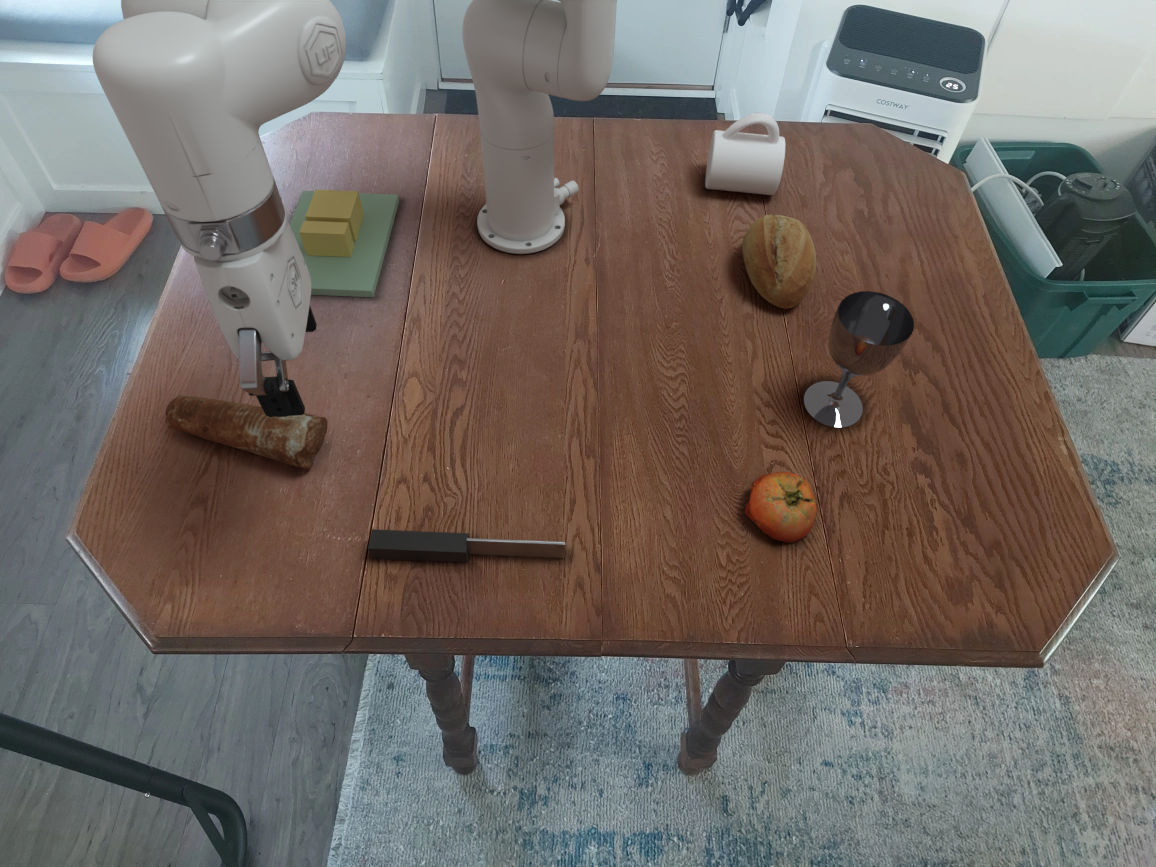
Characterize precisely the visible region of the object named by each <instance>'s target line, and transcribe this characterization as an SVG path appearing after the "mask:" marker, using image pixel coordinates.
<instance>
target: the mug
mask: <svg viewBox="0 0 1156 867" xmlns="http://www.w3.org/2000/svg"><path fill="white" fill-rule="evenodd" d="M752 125H762V126H764V127H765V128H766V131H767V134H761V133H760V134H759V133H751V132H749V133H748V132H740V131H742V130H743V129H745V128H747V127H749V126H752ZM786 146H787V145H786V139H785V137H784V136H781V135H780V128H779V124H778V122H777V121H776V120H775V118H774V117H773V116H771V115H770V114H768V113H765V112H754V113H749V114H747V115H745V116H743V117H741V118H739V119H738V120H737V121H735V122H733V123H732V124H731V125H730V126H729V127H727V128H726V129H725V130H719V129H715V130H713V132H712V135H711V139H710V143H709V149H708V154H707V163H706V171H705V178H704V180H705V181H704V186H705V187H704V188H706V190H717V191H724V192H725V191H727V192H735V193H744V194H745V193H746V194H757V195H766V196H774V195H775V194H776V193H777V191H778V189H779V186H780V183H781V179H782V175H783V171H784V165H785V158H786Z"/></svg>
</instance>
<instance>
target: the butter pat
mask: <svg viewBox="0 0 1156 867" xmlns="http://www.w3.org/2000/svg"><path fill="white" fill-rule="evenodd" d="M299 233H300V236H301V239H302V242H303V245H304V248H305V250H306V253H307V255H308V256H332V257H351V256H352V252H353V249H354V242H353V238H352V235H351V231H350V228H349V224H348V223H347V222H323V221H303V223H302V226H301V229H300V232H299Z"/></svg>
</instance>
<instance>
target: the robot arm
mask: <svg viewBox="0 0 1156 867" xmlns="http://www.w3.org/2000/svg"><path fill="white" fill-rule="evenodd" d="M617 4H618V0H472V1H471V2H470V4H469V5H468V7H467V8H466V11H465V13H464V16H463V21H462V30H461V31H462V32H461V36H462V37H461V38H462V45H463V46H462V47H463V52H464V55H465V59H466V62H467V66H468V69H469V72H470V76H471V79H472V83H473V88H474V92H475V99H476V105H477V115H478V125H479V126H478V127H479V137H480V148H481V158H482V159H481V160H482V170H483V182H484V191H485V192H484V193H485V204H484V205H483V206H482V207H481V209H480V210H479V212H478V214H477V217H476V218H477V219H476V220H477V221H476V223H477V224H476V225H477V230H478V233H479V236H480V238H481V239H482V240H483V241H484V243H486V244H488V246H490V247H492V248H494V249H496V250H498V251H500V252H503V253H507V254H514V255H515V254H516V255H526V254H534V253H537V252H541V251H544V250H546V249H549V248H550V247H552V246H554V245H555V244H556V243H557V242H558V241H559V240H560V239H561V237H562V236H563V234H564V232H565V228H566V217H565V213H564V212H563V209H562V208H561V207H560V206H561V205H563V204H564V203H565V200H566V199H569V198H571V197H573V196H575V195H577V194H578V193H579V192H580V187H579V185H578V183H577V182H576V181H575V180H570V181H568V182H566V183H565V184H563V185H561V182H560V179H559V178H558V177H555V114H554V109H553V108H554V107H553V104H552V102H551V98H550V96H552V97H557V98H562V99H566V100H570V101H577V102H589V101H592V100H594V99H596V98H598V97H599V96H601V94H602V93H603V92H604V90H605V89H606V87H607V85H608V83H609V79H610V78H611V77H610V76H611V73H612V68H613V64H614V63H613V62H614V56H615V55H614V53H615V44H616V42H615V41H616V25H617V24H616V23H617ZM120 9H121V14H122V18H123V19H122V20H119V21H118V22H115V23H114V24H112V25H110V26H109V27H107V28H106V29H105V30H104V31H103V32H102V33H101V34H100V35H99V37H98V38H97V40H96V41H95V43H94V46H93V49H92V65H93V69H94V72H95V75H96V77H97V80H98V82H99V84H100V87H101V89H102V92H103V93H104V95H105V97H106V98H107V100H108V103H109V105H110V107H111V108H112V110H113V112H114V115H115V117H116V118H117V120H118V122H119V124H120V126H121V128H122V130H123V132H124V133H125V136H126V138H127V140H128V142H129V144H130V146H131V148H132V150H133V152H134V154H135V156H136V158H137V160H138V162H139V164H140V166H141V168H142V170H143V172H144V175H145V177H146V178H147V180H148V182H149V184H150V186H151V188H152V190H153V192H154V195H155V196H156V198H157V200H158V202H159V204H160V207H161V208H162V210H163V212H164V215H165V217H166V219H167V220H168V223H169V224H170V226H171V228H172V231H173V232H174V235H175V236H176V239H177V241H178V243H179V245H180V246H181V248H182V249H183V250H184V251H185V252H186V253H188V254H189V255H191V256H192V257H193V259H194V263H195V267H196V270H197V273H198V275H199V279H200V281H201V285H202V287H203V290H204V293H205V295H206V297H207V300H208V304H209V305H210V308H211V310H212V312H213V315H214V318H215V320H216V322H217V324H218V326H219V329H220V331H221V333H222V335H223V337H224V339H225V341H226V344H228V346H229V348H230V350H231V352H232V353H233V355H234V356H235V358H236V359H237V360H238V361H239V386H240V389H241V390H243V391H244V392H245V393H248V396H250V397H254V396H255V397H256V399H257V401H258V403H259V406H261V407H262V409H263V411H264V413H265V415H266V416H268V417H287V416H296V415H303V414H304V413H306V412H305V411H306V407H305V404H304V402H303V399H302V397H301V395H300V392H299V390H298V387H297V385H296V383H295V380H294V379H291V378H289V375H288V374H289V373H288V368H287V361H295V360H297V358H298V357H299V356H300V355H301V354H302V351H303V347H304V344H305V337H306V333H313V332H315V331H316V330H317V327H318V326H317V325H318V324H317V320H316V318H315V316H314V313H313V309H312V307H311V299H312V298H311V296H312V295H311V277H310V274H309V271H308V268H307V266H306V263H305V261H304V258H303V256H302V253H301V251H300V248H299V246H298V243H297V241H296V238H295V236H294V233H293V231H292V229H291V226H290V222H289V220H288V215H287V212H286V208H285V206H284V202H283V200H282V197H281V194H280V191H279V189H278V185H277V183H276V180H275V179H276V178H275V177H274V174H273V171H272V169H271V166H270V162H269V160H268V157H267V154H266V151H265V148H264V146H263V142H262V139H261V136H260V134H259V132H260V131H259V130H260V128H261V127H262V126H263V125H265V124H266V123H268V122H271V121H272V120H275V119H277V118H279V117H282V116H283V115H286V114H288V113H290V112H293V111H294V110H297V109H299V108H301V107H304V106H306V105H308V104H309V103H311V102H313V101H315V100H316V99H317V98H319V97H320V96H321V95H324V93H325V92H326V91H328V89H329V88H330V87H331V86H332V84H334V82H335V80H337V78H338V77H339V74H340V72H341V71H342V68H343V65H344V62H345V59H346V53H347V35H346V29H345V25H344V22H343V19H342V17H341V15H340V13H339V11H338V9H337V8H336V6H335V5H334V4H333V3H332V1H331V0H120ZM549 95H550V96H549ZM560 186H561V187H560ZM558 187H559V188H558ZM262 343H263V345H264V347H265V348H266V349H267V350H269V351H262ZM266 361H267V362H268V361H269V362H270V361H274V366H275V373H276V376H264V373H263V366H262V365H263V364H262V363H263V362H266Z"/></svg>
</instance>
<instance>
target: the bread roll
mask: <svg viewBox="0 0 1156 867" xmlns="http://www.w3.org/2000/svg"><path fill="white" fill-rule="evenodd" d="M741 243H742V245H741V251H742V257H743V262H744V266H745V270H746V273H747V276H748V277H749V280H750V283H751V284H752V286H753V287H754V289H755V290H756V291H757V293H758V294H759V295H760V296H761V297H762V298H763V299H764V300H765V301H767V302H768V303H770V304H771V305H773V306H774V307H777V308H780V309H792V308H794V307H796V306H797V305H798V304H799V303H800V302H801V301H803V299H804V298H806V296H807V295H808V293H809V292H810V289H811V288H812V286H813V283H814V281H815V278H816V272H817V251H816V247H815V245H814V241H813V238H812V236H811V234H810V232H809V230H808V229H807V227H806V226H805V225H804V223H802V222H801V221H800V220H799V219H796V218H794V217H791V216H790V217H789V216H786V215H782V214H773V213H771V214H764V215H763V216H761V217H759V218H757V219H756V220H755V221H754V222H753V223H752V224H751V225H750V226H749V228H748V229H747V231H746V232H745V234H744V236H743V238H742V242H741Z"/></svg>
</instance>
